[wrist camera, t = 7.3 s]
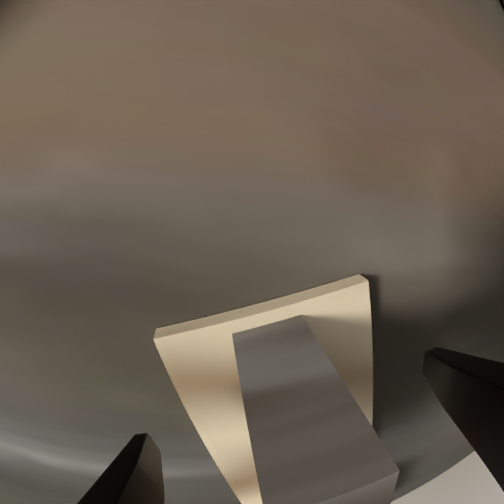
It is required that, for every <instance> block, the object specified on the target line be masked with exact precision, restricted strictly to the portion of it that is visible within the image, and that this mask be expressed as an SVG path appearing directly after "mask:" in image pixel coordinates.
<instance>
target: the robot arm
mask: <svg viewBox="0 0 504 504" xmlns="http://www.w3.org/2000/svg"><path fill="white" fill-rule="evenodd" d="M423 374H424V376H425V378H426V380H427V381H428V383H429V385H430V386H431V388H432V390H433V391H434V393H435V395H436V396H437V398H438V400H439V401H440V403H441V405H442V406H443V408H444V409H445V411H446V412H447V413H448V415H449V416H450V417H451V419H452V420H453V421H454V423H455V424H456V425H457V427H458V428H459V429H460V431H461V432H462V433H463V435H464V436H465V437H466V439H467V440H468V441H469V443H470V444H471V446H472V447H473V448H474V450H475V451H476V452H477V454H478V455H479V457H480V458H481V459H482V461H483V462H484V464H485V465H486V466H487V468H488V469H489V471H490V472H491V474H492V475H493V477H494V478H495V479H496V481H497V482H498V484H499V485H500V487H501V488H502V490H503V491H504V363H501V362H497V361H493V360H488V359H484V358H480V357H476V356H472V355H467V354H463V353H459V352H455V351H451V350H447V349H443V348H439V347H434V348H432V349H430V350H428V351H426V353H425V355H424V365H423ZM77 504H164V484H163V474H162V464H161V454H160V450H159V448H158V447H157V445H156V444H155V442H154V441H153V440H152V438H151V437H150V435H149V434H147V433H143V434H136V435H134V436H133V438H132V439H131V440H130V441H129V442H128V444H127V445H126V446H125V447H124V449H123V450H122V451H121V452H120V453H119V455H118V456H117V457H116V458H115V459H114V461H113V462H112V463H111V464H110V465H109V467H108V468H107V469H106V470H105V471H104V473H103V474H102V475H101V476H100V477H99V479H98V480H97V481H96V482H95V483H94V484H93V486H92V487H91V488H90V489H89V490H88V492H87V493H86V494H85V495H84V496H83V497H82V499H81V500H80V501H79V502H78V503H77Z"/></svg>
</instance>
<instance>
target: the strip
mask: <svg viewBox="0 0 504 504" xmlns="http://www.w3.org/2000/svg"><path fill="white" fill-rule="evenodd" d="M153 340H154V342H155V344H156V347H157V349H158V351H159V354H160V356H161V358H162V360H163V363H164V365H165V367H166V369H167V371H168V374H169V376H170V378H171V380H172V382H173V384H174V386H175V388H176V390H177V393H178V395H179V397H180V399H181V401H182V403H183V405H184V407H185V408H186V410H187V412H188V414H189V416H190V418H191V420H192V422H193V424H194V426H195V428H196V429H197V431H198V433H199V435H200V437H201V438H202V440H203V442H204V444H205V446H206V447H207V449H208V451H209V452H210V454H211V456H212V458H213V459H214V461H215V463H216V464H217V466H218V468H219V469H220V471H221V473H222V474H223V476H224V477H225V479H226V481H227V482H228V484H229V485H230V487H231V488H232V490H233V491H234V493H235V494H236V496H237V497H238V499H239V500H240V502H241V503H242V504H390V503H391V500H392V497H393V493H394V490H395V486H396V483H397V479H398V475H399V471H400V470H399V468H398V467H397V465H396V464H395V462H394V461H393V459H392V457H391V456H390V454H389V453H388V451H387V449H386V448H385V446H384V445H383V443H382V441H381V440H380V438H379V437H378V435H377V434H376V432H375V430H374V429H373V427H372V419H373V345H372V323H371V307H370V293H369V282H368V280H367V279H365V278H364V277H363V276H361V275H360V274H357V275H354V276H351V277H348V278H345V279H341V280H338V281H335V282H332V283H328V284H325V285H322V286H318V287H315V288H311V289H308V290H305V291H301V292H298V293H294V294H291V295H287V296H284V297H280V298H276V299H273V300H269V301H266V302H262V303H258V304H254V305H251V306H247V307H243V308H239V309H235V310H232V311H228V312H224V313H220V314H216V315H212V316H208V317H204V318H200V319H196V320H191V321H187V322H183V323H179V324H175V325H170V326H166V327H161V328H157V329H156V332H155V335H154V338H153Z"/></svg>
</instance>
